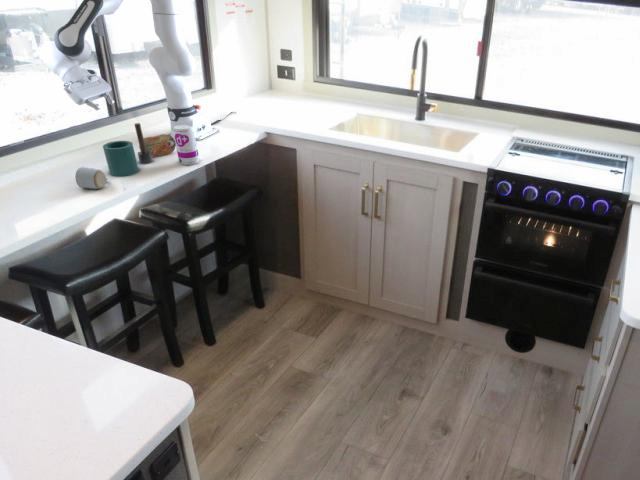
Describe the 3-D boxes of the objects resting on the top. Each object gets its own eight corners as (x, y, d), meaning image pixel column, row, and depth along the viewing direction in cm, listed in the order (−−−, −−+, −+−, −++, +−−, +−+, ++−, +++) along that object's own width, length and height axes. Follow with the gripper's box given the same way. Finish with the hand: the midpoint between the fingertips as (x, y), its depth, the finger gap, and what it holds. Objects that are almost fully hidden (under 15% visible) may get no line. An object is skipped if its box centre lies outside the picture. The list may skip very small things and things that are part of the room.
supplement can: (193, 166, 240) (187, 130, 232) (175, 164, 241) (168, 128, 233) (203, 159, 247) (196, 124, 239) (185, 158, 248) (178, 123, 240)
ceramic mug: (98, 192, 215) (93, 172, 211) (78, 190, 216) (72, 170, 212) (114, 182, 224) (109, 163, 220) (94, 180, 225) (89, 161, 221)
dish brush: (146, 159, 247) (138, 121, 238) (154, 161, 245) (146, 123, 236) (137, 162, 243) (127, 124, 234) (145, 164, 241) (136, 126, 232)
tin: (143, 159, 246) (139, 140, 242) (140, 157, 248) (136, 138, 244) (177, 152, 255) (173, 133, 250) (174, 150, 257) (170, 131, 252)
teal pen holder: (126, 165, 240) (120, 139, 234) (144, 169, 236) (138, 143, 230) (104, 173, 232) (96, 146, 226) (122, 178, 228) (115, 150, 222)
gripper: (63, 79, 220) (93, 107, 223) (96, 69, 237) (124, 95, 241) (56, 90, 223) (86, 118, 226) (89, 79, 240) (116, 105, 244)
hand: (106, 106), depth 234 cm, fingers open, 8 cm apart
